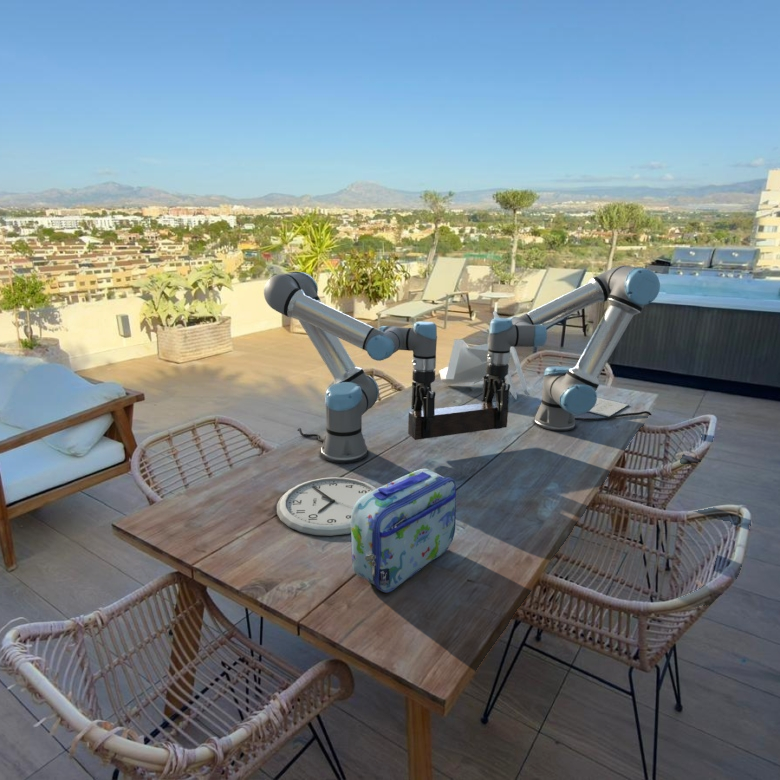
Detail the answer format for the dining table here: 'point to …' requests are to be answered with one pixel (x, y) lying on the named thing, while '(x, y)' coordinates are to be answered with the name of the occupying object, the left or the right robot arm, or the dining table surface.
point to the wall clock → (322, 505)
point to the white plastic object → (476, 365)
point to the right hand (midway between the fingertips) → (493, 425)
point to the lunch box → (402, 527)
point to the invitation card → (607, 407)
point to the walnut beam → (456, 420)
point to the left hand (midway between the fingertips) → (421, 434)
